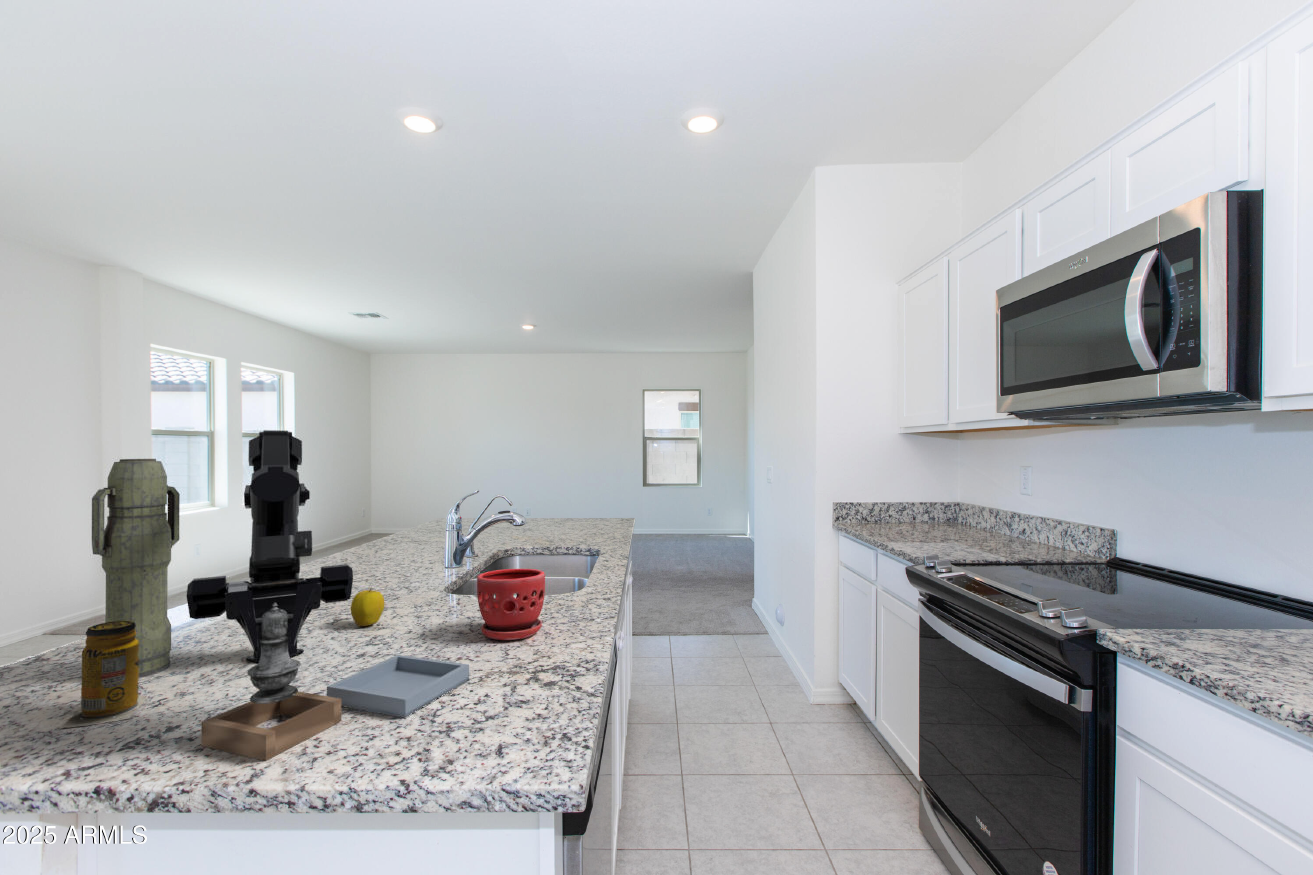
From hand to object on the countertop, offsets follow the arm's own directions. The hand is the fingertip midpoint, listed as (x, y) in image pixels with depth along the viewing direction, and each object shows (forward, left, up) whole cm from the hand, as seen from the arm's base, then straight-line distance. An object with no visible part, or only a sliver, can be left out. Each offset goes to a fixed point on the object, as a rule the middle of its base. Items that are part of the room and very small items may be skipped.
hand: (274, 646), depth 78 cm
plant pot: (+5, +47, -12) cm, 49 cm away
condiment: (-29, -2, -12) cm, 31 cm away
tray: (+5, +17, -11) cm, 21 cm away
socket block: (-1, +1, -11) cm, 12 cm away
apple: (-26, +42, -12) cm, 51 cm away
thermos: (-43, +10, -12) cm, 46 cm away
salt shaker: (-1, +1, -7) cm, 7 cm away
